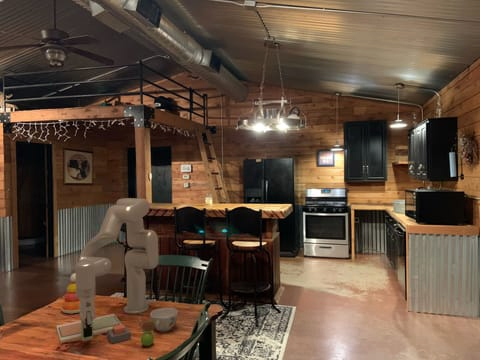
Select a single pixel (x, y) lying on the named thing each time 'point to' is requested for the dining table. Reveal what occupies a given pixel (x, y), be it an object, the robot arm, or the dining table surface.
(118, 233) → the robot arm
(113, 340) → the button housing
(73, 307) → the stacking toy
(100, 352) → the dining table surface
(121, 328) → the button
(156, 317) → the teacup
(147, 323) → the snail figurine
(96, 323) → the picture board
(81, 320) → the sage block
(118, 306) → the dining table surface
